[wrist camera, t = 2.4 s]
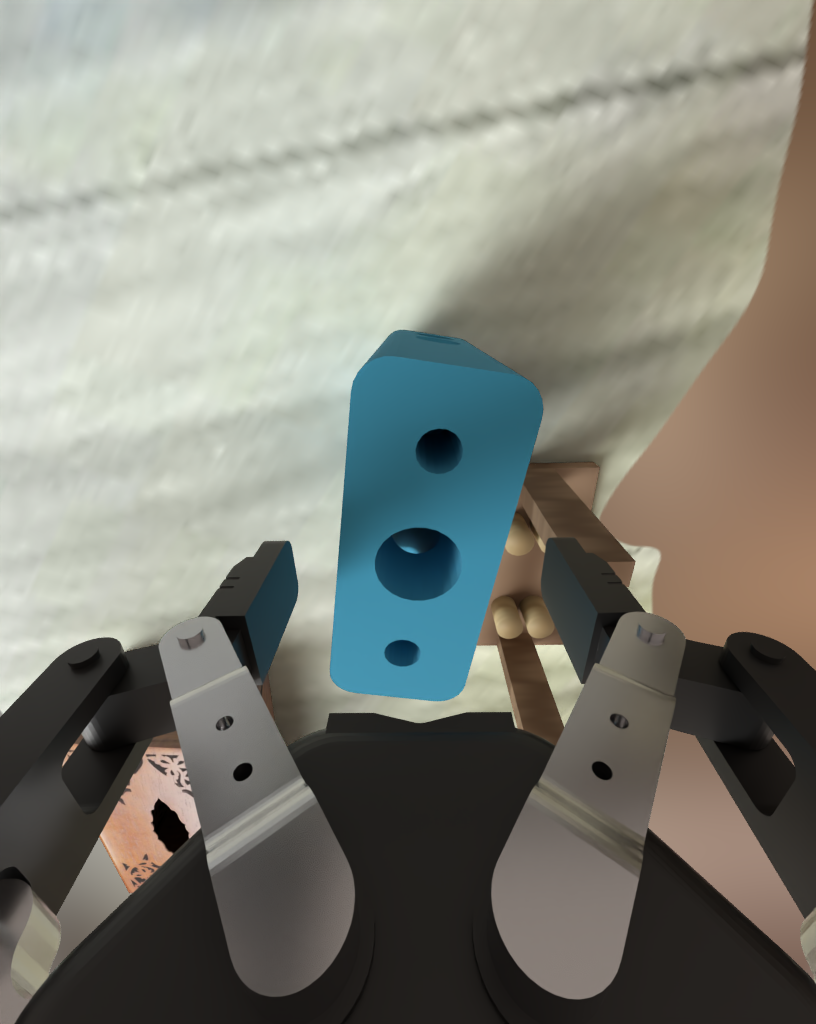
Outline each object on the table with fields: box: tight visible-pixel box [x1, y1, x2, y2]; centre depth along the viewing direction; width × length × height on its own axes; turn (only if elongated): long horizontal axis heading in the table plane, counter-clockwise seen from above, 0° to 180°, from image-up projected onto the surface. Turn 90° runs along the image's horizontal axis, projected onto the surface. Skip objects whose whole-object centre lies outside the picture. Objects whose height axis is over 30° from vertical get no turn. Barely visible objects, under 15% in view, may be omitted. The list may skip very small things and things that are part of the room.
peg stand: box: [477, 462, 635, 746], centre depth 30 cm, size 10×18×14 cm, turn 1°
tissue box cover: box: [62, 673, 275, 893], centre depth 43 cm, size 26×14×10 cm, turn 177°
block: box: [330, 330, 543, 701], centre depth 22 cm, size 12×5×20 cm, turn 172°
